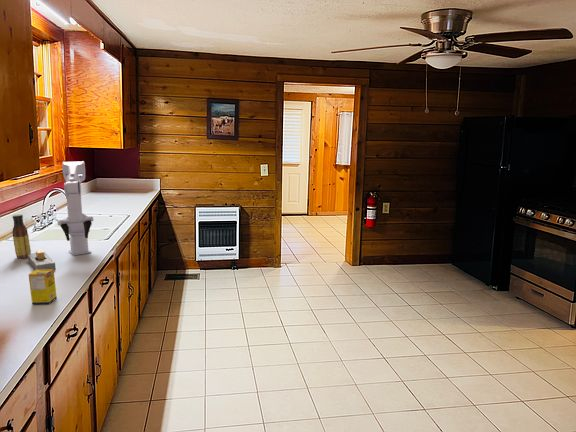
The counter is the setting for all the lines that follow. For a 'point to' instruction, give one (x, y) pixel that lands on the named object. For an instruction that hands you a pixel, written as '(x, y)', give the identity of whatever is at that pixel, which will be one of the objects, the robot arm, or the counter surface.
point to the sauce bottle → (20, 237)
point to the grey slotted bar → (41, 262)
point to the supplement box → (42, 286)
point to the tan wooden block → (40, 255)
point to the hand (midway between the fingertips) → (77, 239)
